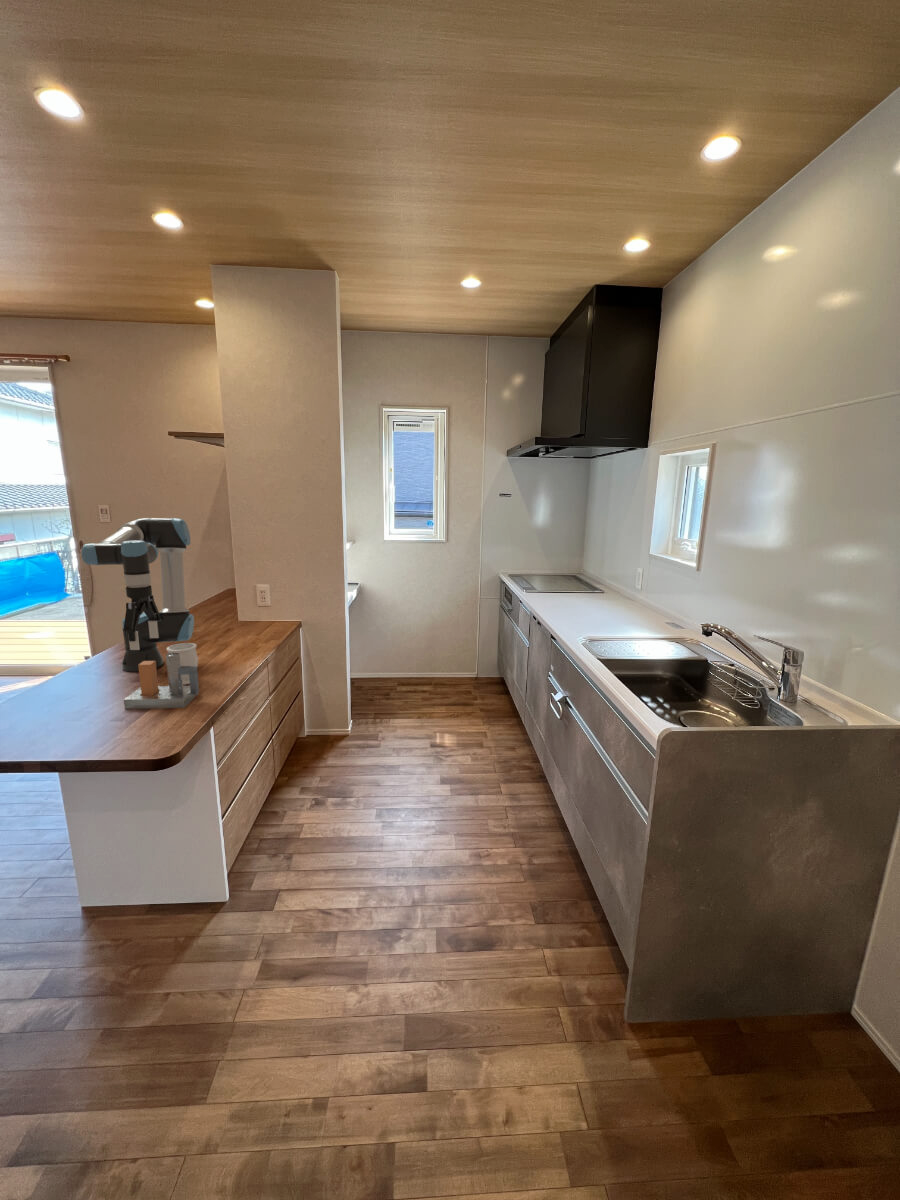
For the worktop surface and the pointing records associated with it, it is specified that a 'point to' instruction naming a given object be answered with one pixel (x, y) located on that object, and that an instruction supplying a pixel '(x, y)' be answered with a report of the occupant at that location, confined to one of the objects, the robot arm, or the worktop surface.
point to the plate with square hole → (168, 688)
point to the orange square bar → (148, 678)
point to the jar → (185, 656)
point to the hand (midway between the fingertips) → (145, 643)
